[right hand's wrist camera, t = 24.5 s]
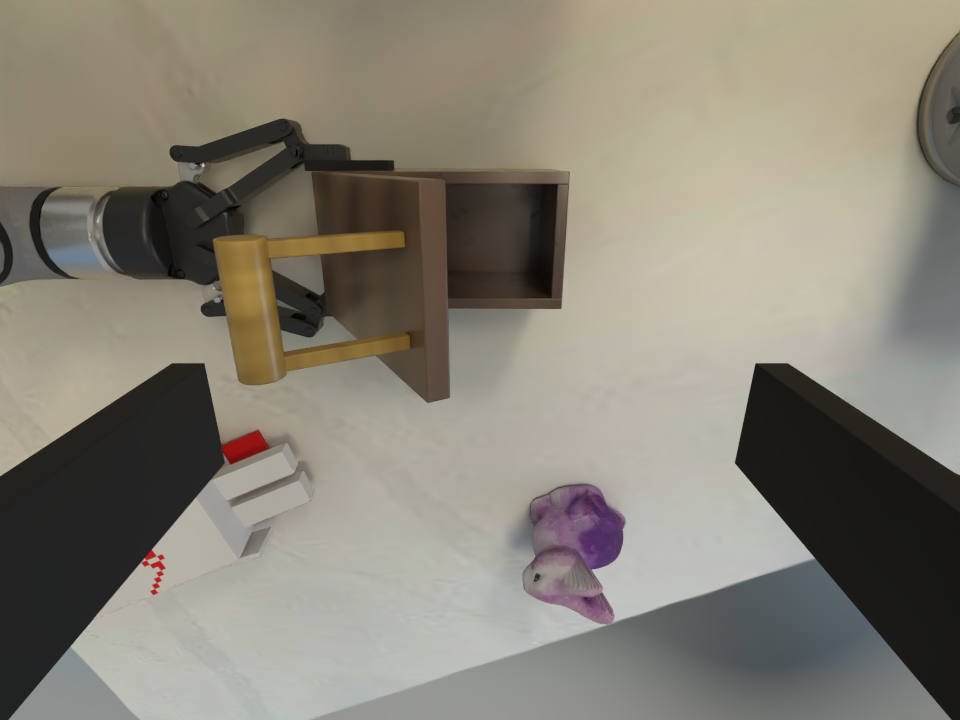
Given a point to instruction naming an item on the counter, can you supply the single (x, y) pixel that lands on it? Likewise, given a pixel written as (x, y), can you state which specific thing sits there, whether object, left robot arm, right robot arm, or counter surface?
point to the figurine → (573, 549)
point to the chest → (501, 235)
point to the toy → (221, 519)
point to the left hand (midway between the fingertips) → (395, 234)
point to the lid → (352, 282)
